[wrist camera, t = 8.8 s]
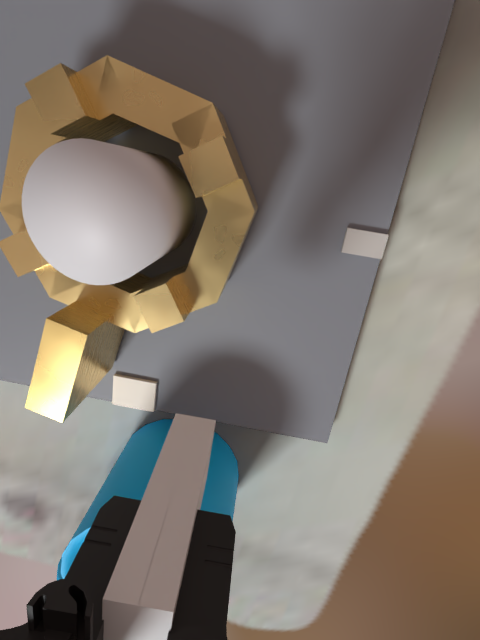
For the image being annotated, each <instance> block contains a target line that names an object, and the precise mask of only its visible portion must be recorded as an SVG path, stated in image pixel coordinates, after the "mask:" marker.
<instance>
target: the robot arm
mask: <svg viewBox="0 0 480 640" xmlns="http://www.w3.org/2000/svg"><path fill="white" fill-rule="evenodd" d="M215 424H216V420H211V419H206V418H200V417H194V416H189V415H183V414H177V413H176V414H175V417H174V419H173V422H172V424H171V427H170V429H169V432H168V435H167V437H166V440H165V442H164V445H163V447H162V450H161V452H160V455H159V457H158V460H157V462H156V465H155V468H154V470H153V473H152V475H151V478H150V480H149V483H148V485H147V488H146V490H145V493H144V495H143V498H142V500H136V499H131V498H125V497H120V496H113V497H112V498H111V499H110V500H109V501H108V502H106V503H105V504H104V505H103V506H102V507H101V508H100V510H99V511H98V513H97V515H96V517H95V519H94V521H93V523H92V526H91V528H90V529H89V531H88V533H87V535H86V537H85V540H84V542H83V543H82V545H81V547H80V549H79V551H78V553H77V555H76V557H75V559H74V561H73V563H72V565H71V567H70V569H69V571H68V573H67V575H66V576H65V578H64V579H60V580H57V581H54V582H51V583H49V584H47V585H46V586H44V587H43V588H42V589H40V590H39V591H38V592H37V593H36V594H35V595H34V596H33V597H32V599H31V600H30V601H29V603H28V604H27V615H28V622H27V623H26V624H24V625H21V626H18V627H14V628H11V629H6V630H0V640H227V636H226V623H227V613H228V603H229V593H230V583H231V573H232V563H233V551H234V543H235V529H234V526H233V522H232V519H231V516H230V515H225V514H220V513H214V512H209V511H203V510H200V508H201V503H202V499H203V494H204V489H205V484H206V480H207V474H208V468H209V462H210V455H211V449H212V443H213V436H214V430H215Z"/></svg>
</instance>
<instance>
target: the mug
mask: <svg viewBox="0 0 480 640" xmlns="http://www.w3.org/2000/svg"><path fill="white" fill-rule="evenodd" d="M172 422H173V419H162V420H159V421H155V422H152V423H149V424H146V425H145V426H143V427H142V428H141V429H139V430H138V431H137V432H135V433H134V434H133V435H132V437H131V438H130V440H129V441H128V443H127V445H126V446H125V448H124V450H123V452H122V453H121V455H120V457H119V458H118V460H117V462H116V464H115V465H114V467H113V469H112V470H111V472H110V474H109V476H108V477H107V479H106V481H105V482H104V484H103V486H102V488H101V489H100V491H99V493H98V494H97V496H96V498H95V500H94V501H93V503H92V505H91V506H90V508H89V510H88V512H87V513H86V515H85V517H84V518H83V520H82V522H81V524H80V525H79V527H78V529H77V530H76V532H75V534H74V536H73V537H72V539H71V541H70V542H69V544H68V546H67V547H66V549H65V551H64V553H63V554H62V557H61V559H60V562H59V564H58V570H57V580H60V579H64V578H65V576H66V575H67V573H68V571H69V569H70V567H71V565H72V563H73V561H74V559H75V557H76V555H77V553H78V551H79V549H80V547H81V545H82V543H83V542H84V540H85V537H86V535H87V533H88V531H89V529H90V528H91V526H92V523H93V521H94V519H95V517H96V515H97V513H98V511H99V510H100V508H101V507H102V506H103V505H104V504H105V503H106V502H108V501H109V500H110V499H111V498H112V497H113V496H120V497H125V498H131V499H136V500H142V498H143V495H144V493H145V490H146V488H147V485H148V483H149V480H150V478H151V475H152V473H153V470H154V468H155V465H156V462H157V460H158V457H159V455H160V452H161V450H162V447H163V445H164V442H165V440H166V437H167V435H168V432H169V429H170V427H171V424H172ZM238 478H239V474H238V465H237V460H236V458H235V456H234V454H233V452H232V450H231V448H230V446H229V445H228V444H227V443H226V442H225V441H224V440H223V439H222V438H221V437H220V436H219V435H218V434H217V433H216V432H214V436H213V443H212V449H211V455H210V462H209V468H208V474H207V480H206V484H205V489H204V494H203V499H202V503H201V508H200V510H203V511H209V512H214V513H220V514H225V515H230V516H231V519H232V521H233V514H234V507H235V500H236V493H237V485H238Z"/></svg>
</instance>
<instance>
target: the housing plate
mask: <svg viewBox="0 0 480 640" xmlns="http://www.w3.org/2000/svg"><path fill="white" fill-rule="evenodd" d="M454 2H455V0H0V200H1V194H2V188H3V182H4V176H5V170H6V165H7V159H8V153H9V147H10V141H11V135H12V129H13V123H14V117H15V111H16V106H18V105H20V104H22V103H23V102H25V101H27V100H29V99H30V98H32V97H31V95H30V93H29V92H28V90H27V88H26V86H25V83H27V82H28V81H30V80H32V79H34V78H35V77H37V76H39V75H40V74H42V73H44V72H46V71H47V70H49V69H51V68H53V67H54V66H56V65H58V64H59V63H62V64H64V65H65V66H67V67H69V68H71V69H73V70H75V71H77V72H78V71H80V70H82V69H84V68H85V67H87V66H89V65H91V64H92V63H94V62H96V61H98V60H99V59H101V58H103V57H105V56H107V55H108V56H110V57H112V58H115V59H117V60H119V61H121V62H124V63H126V64H128V65H130V66H132V67H135V68H137V69H139V70H141V71H143V72H146V73H148V74H150V75H152V76H155V77H157V78H159V79H161V80H163V81H166V82H168V83H170V84H172V85H174V86H177V87H179V88H181V89H183V90H185V91H188V92H190V93H192V94H194V95H197V96H199V97H201V98H203V99H205V100H208V101H210V102H212V103H213V104H214V105H215V106H216V107H217V108H218V110H219V111H220V112H221V113H222V114H223V115H224V118H225V120H226V123H227V126H228V128H229V131H230V133H231V136H232V139H233V141H234V144H235V147H236V149H237V152H238V155H239V157H240V160H241V162H242V165H243V168H244V170H245V173H246V176H247V178H248V181H249V183H250V186H251V189H252V191H253V194H254V197H255V199H256V202H257V204H258V209H257V212H256V214H255V217H254V219H253V221H252V224H251V226H250V229H249V231H248V233H247V236H246V238H245V241H244V243H243V245H242V248H241V250H240V253H239V255H238V257H237V260H236V262H235V265H234V267H233V270H232V272H231V274H230V277H229V279H228V282H227V284H226V286H225V288H224V290H223V292H222V294H221V296H220V298H219V300H218V301H217V303H214V304H212V305H209V306H206V307H204V308H201V309H198V310H196V311H193V312H190V314H189V315H188V316H187V318H186V319H185V321H184V322H181V323H178V324H176V325H173V326H170V327H168V328H165V329H162V330H159V331H157V332H154V333H151V331H150V329H149V328H147V329H145V330H142V331H139V332H137V333H133V332H131V331H129V330H126V329H125V330H124V333H123V336H122V339H121V343H120V346H119V349H118V352H117V355H116V358H115V361H114V364H113V367H112V369H111V370H110V371H109V372H108V373H107V374H106V375H105V376H104V377H103V378H102V380H101V381H100V382H99V383H98V384H97V385H96V386H95V387H94V388H93V390H92V391H91V392H90V393H89V394H88V395H87V396H86V397H91V398H96V399H101V400H106V401H111V402H112V404H114V405H119V406H124V407H129V408H134V409H140V410H145V411H150V412H154V410H158V411H163V412H168V413H173V414H176V413H177V414H183V415H189V416H194V417H200V418H206V419H211V420H216V422H220V423H225V424H230V425H235V426H241V427H246V428H251V429H256V430H261V431H267V432H272V433H277V434H282V435H287V436H292V437H298V438H303V439H308V440H313V441H318V442H324V443H327V442H328V439H329V435H330V432H331V428H332V425H333V421H334V418H335V414H336V411H337V408H338V404H339V401H340V397H341V394H342V390H343V387H344V383H345V380H346V376H347V373H348V369H349V366H350V363H351V359H352V356H353V352H354V349H355V345H356V342H357V338H358V335H359V331H360V328H361V324H362V321H363V318H364V314H365V311H366V307H367V304H368V300H369V297H370V293H371V290H372V286H373V283H374V279H375V276H376V272H377V269H378V266H379V262H380V259H382V257H383V254H384V250H385V247H386V243H387V240H388V236H389V235H388V231H389V227H390V224H391V221H392V217H393V214H394V210H395V207H396V203H397V200H398V196H399V193H400V189H401V186H402V182H403V179H404V176H405V172H406V169H407V165H408V162H409V158H410V155H411V151H412V148H413V144H414V141H415V137H416V134H417V131H418V127H419V124H420V120H421V117H422V113H423V110H424V106H425V103H426V99H427V96H428V92H429V89H430V86H431V82H432V79H433V75H434V72H435V68H436V65H437V61H438V58H439V54H440V51H441V47H442V44H443V40H444V37H445V34H446V30H447V27H448V23H449V20H450V16H451V13H452V9H453V6H454ZM182 154H184V153H183V151H182V148H181V146H180V143H178V142H176V141H174V140H172V139H169V138H167V137H165V136H163V135H161V134H158V133H156V132H154V131H152V130H149V129H147V128H145V127H143V126H140V125H137V126H135V127H133V128H131V129H129V130H127V131H125V132H123V133H121V134H119V135H117V136H115V137H113V138H111V139H109V140H107V141H105V142H101V141H97V140H93V139H84V138H78V139H69V140H65V141H61V142H59V143H56V144H54V145H52V146H51V147H49V148H47V149H46V150H45V151H44V152H42V153H41V154H40V155H39V156H38V157H37V159H36V160H35V161H34V162H33V164H32V165H31V167H30V169H29V171H28V173H27V175H26V178H25V181H24V185H23V191H22V212H23V217H24V222H25V225H26V228H27V231H28V234H29V236H30V238H31V240H32V242H33V244H34V245H35V247H36V248H37V250H38V251H39V253H40V254H41V255H42V256H43V258H44V259H45V260H46V261H47V262H48V263H49V264H50V265H51V266H53V267H54V268H55V269H56V270H58V271H59V272H61V273H62V274H64V275H65V276H67V277H69V278H71V279H73V280H76V281H79V282H82V283H86V284H91V285H109V284H115V283H118V282H121V281H124V280H126V279H128V278H130V277H131V276H133V275H134V274H136V273H140V274H143V275H145V276H148V277H150V278H153V277H156V276H158V275H161V274H163V273H166V272H168V271H171V270H173V269H176V268H178V267H181V266H183V265H186V264H188V263H189V261H190V258H191V256H192V253H193V250H194V248H195V245H196V242H197V239H198V237H199V234H200V231H201V229H202V226H203V223H204V220H205V218H206V215H207V212H208V210H207V208H206V205H205V203H204V201H203V198H202V197H199V198H196V197H195V195H194V192H193V190H192V188H191V185H190V183H189V181H188V178H187V176H186V173H185V171H184V169H183V166H182V164H181V162H180V159H179V157H178V156H180V155H182ZM12 235H13V233H12V231H11V229H10V228H9V226H8V224H7V223H6V221H5V219H4V217H3V216H2V214H1V212H0V241H1V240H3V239H5V238H7V237H10V236H12ZM66 306H68V305H67V304H64V303H62V302H59V301H57V300H55V299H52V298H50V297H49V295H48V294H47V292H46V290H45V288H44V287H43V285H42V283H41V281H40V280H39V278H38V276H37V274H36V273H35V271H33V272H31V273H28V274H25V275H22V276H20V277H17V275H16V273H15V272H14V270H13V268H12V266H11V265H10V263H9V261H8V260H7V258H6V256H5V255H4V253H3V251H2V250H1V248H0V380H2V381H8V382H13V383H18V384H23V385H28V386H30V384H31V380H32V376H33V371H34V367H35V363H36V359H37V355H38V350H39V346H40V342H41V338H42V334H43V329H44V325H45V321H46V318H48V317H49V316H51V315H53V314H54V313H56V312H58V311H60V310H61V309H63V308H65V307H66Z"/></svg>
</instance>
